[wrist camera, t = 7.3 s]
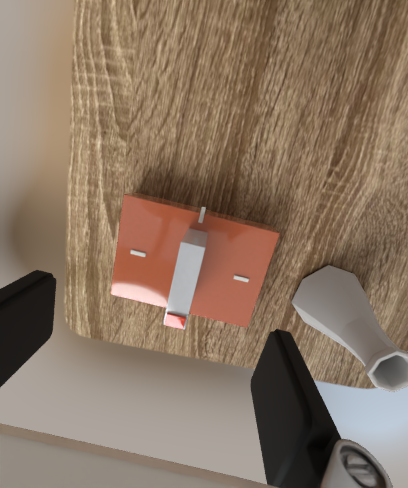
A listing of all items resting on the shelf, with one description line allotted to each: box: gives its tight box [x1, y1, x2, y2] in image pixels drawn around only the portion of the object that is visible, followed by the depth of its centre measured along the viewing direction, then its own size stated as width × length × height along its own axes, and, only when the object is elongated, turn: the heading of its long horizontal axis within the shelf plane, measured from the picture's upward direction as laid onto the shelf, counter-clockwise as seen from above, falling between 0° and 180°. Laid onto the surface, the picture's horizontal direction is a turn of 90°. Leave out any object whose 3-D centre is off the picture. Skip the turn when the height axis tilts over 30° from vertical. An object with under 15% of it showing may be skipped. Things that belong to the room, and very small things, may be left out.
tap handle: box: [163, 228, 208, 330], centre depth 19 cm, size 7×2×5 cm, turn 166°
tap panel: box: [110, 192, 280, 327], centre depth 23 cm, size 14×11×3 cm
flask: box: [292, 265, 408, 392], centre depth 20 cm, size 7×7×10 cm
